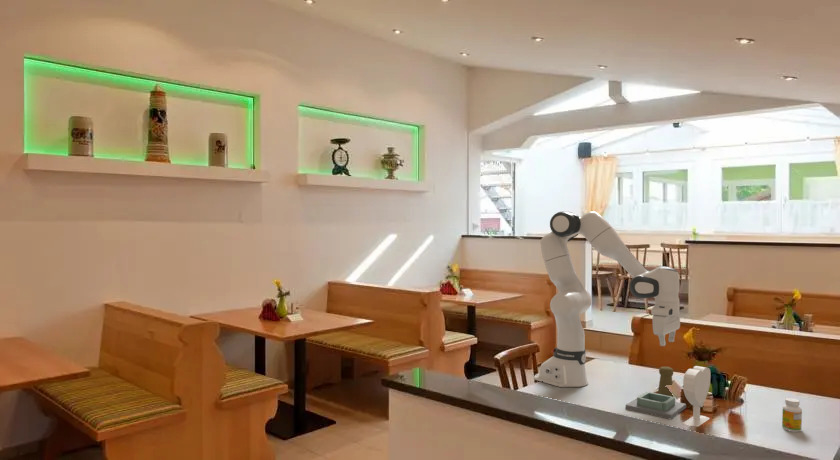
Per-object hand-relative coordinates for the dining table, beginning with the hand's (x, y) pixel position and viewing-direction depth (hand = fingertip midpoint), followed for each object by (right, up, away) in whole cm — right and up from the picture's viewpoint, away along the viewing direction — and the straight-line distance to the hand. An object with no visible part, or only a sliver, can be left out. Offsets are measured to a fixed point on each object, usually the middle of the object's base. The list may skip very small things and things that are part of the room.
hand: (667, 343), depth 233 cm
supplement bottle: (+26, -22, -36) cm, 49 cm away
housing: (-11, -21, -16) cm, 28 cm away
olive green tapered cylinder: (0, -20, +1) cm, 20 cm away
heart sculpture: (-2, -21, -28) cm, 35 cm away
